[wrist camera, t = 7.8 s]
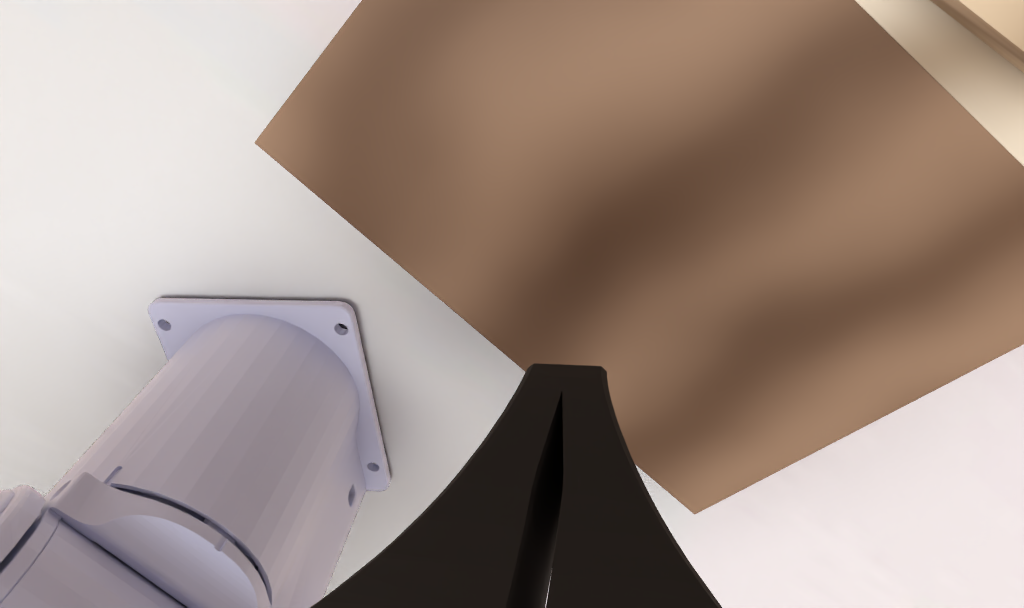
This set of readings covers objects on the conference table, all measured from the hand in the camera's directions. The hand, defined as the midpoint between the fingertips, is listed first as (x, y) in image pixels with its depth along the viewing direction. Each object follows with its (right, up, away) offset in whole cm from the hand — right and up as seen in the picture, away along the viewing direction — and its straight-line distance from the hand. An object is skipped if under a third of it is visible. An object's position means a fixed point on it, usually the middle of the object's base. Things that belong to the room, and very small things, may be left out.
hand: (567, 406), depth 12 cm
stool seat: (+6, +7, +7) cm, 12 cm away
